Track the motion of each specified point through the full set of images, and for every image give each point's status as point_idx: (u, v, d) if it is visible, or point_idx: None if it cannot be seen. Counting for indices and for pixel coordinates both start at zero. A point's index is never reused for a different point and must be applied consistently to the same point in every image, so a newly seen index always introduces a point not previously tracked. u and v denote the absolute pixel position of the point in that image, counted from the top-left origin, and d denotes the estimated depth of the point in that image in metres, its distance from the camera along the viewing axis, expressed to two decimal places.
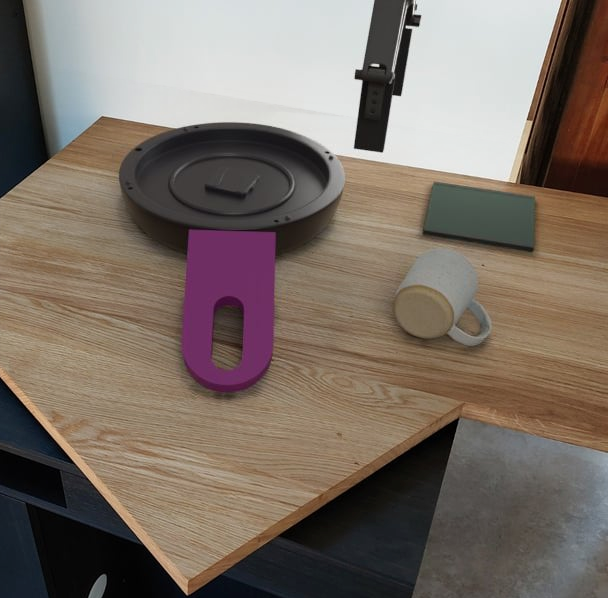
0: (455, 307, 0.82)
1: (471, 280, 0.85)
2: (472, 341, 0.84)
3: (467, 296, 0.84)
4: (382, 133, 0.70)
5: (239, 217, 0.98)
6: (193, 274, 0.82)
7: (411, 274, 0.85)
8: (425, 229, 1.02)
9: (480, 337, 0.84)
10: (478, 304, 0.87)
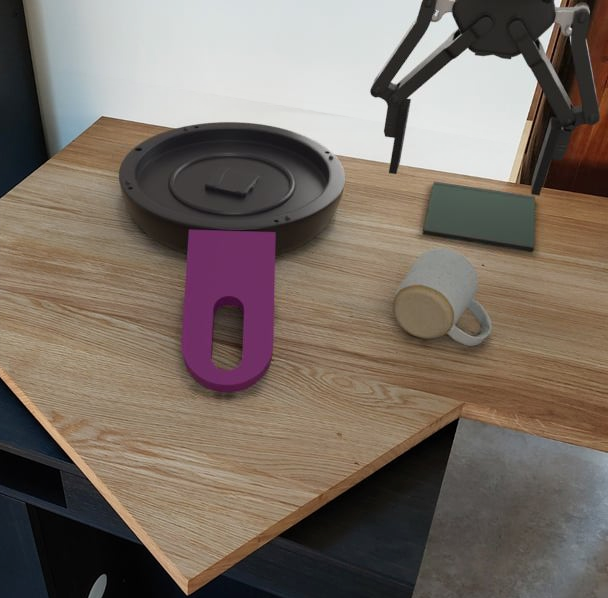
0: (455, 306, 0.82)
1: (471, 280, 0.85)
2: (472, 341, 0.84)
3: (467, 296, 0.84)
4: None
5: (239, 217, 0.98)
6: (192, 274, 0.82)
7: (411, 274, 0.85)
8: (425, 229, 1.02)
9: (480, 337, 0.84)
10: (478, 304, 0.87)
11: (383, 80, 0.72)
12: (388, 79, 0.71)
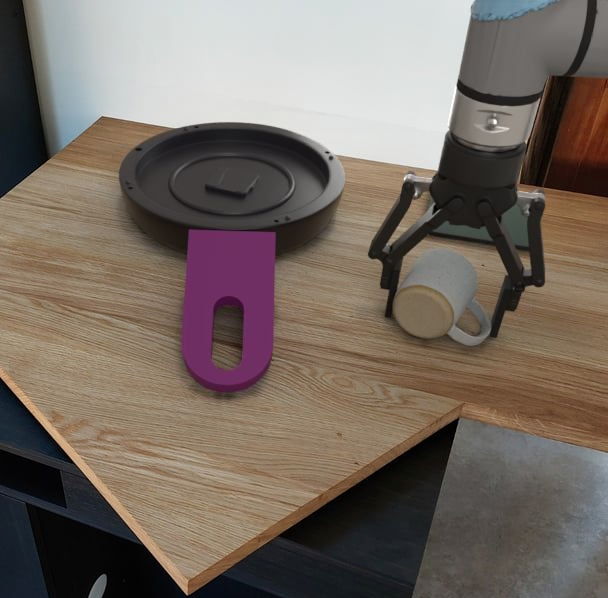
0: (455, 307, 0.82)
1: (471, 280, 0.85)
2: (472, 341, 0.84)
3: (467, 296, 0.84)
4: None
5: (239, 217, 0.98)
6: (192, 274, 0.82)
7: (411, 274, 0.85)
8: None
9: (480, 337, 0.84)
10: (478, 304, 0.87)
11: (378, 246, 0.83)
12: (382, 245, 0.82)
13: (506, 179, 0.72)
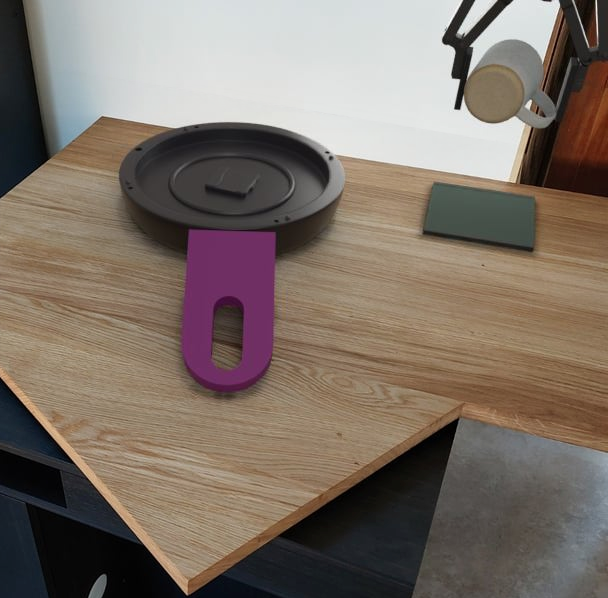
0: (525, 84, 0.88)
1: (538, 66, 0.90)
2: (540, 121, 0.90)
3: (535, 80, 0.90)
4: None
5: (239, 217, 0.98)
6: (192, 274, 0.82)
7: (482, 60, 0.90)
8: (425, 229, 1.02)
9: (547, 118, 0.90)
10: (543, 93, 0.92)
11: (452, 29, 0.88)
12: (456, 28, 0.88)
13: None
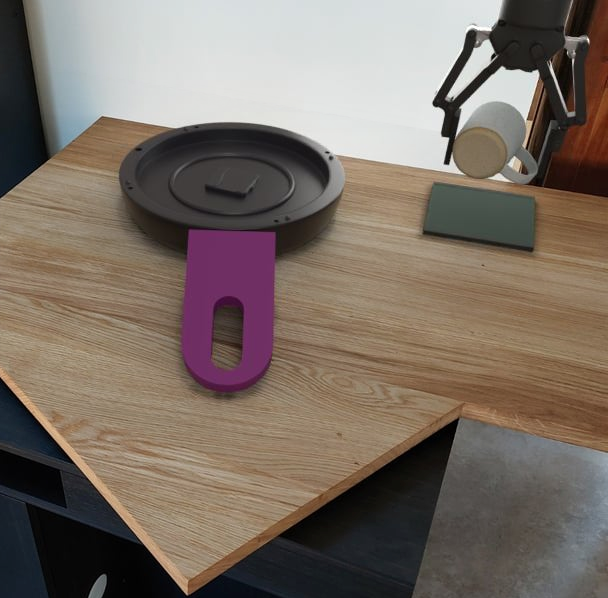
0: (508, 145, 0.95)
1: (520, 127, 0.98)
2: (522, 178, 0.97)
3: (517, 140, 0.97)
4: None
5: (239, 217, 0.98)
6: (192, 274, 0.82)
7: (469, 121, 0.98)
8: (425, 229, 1.02)
9: (529, 175, 0.97)
10: (526, 151, 1.00)
11: (441, 94, 0.96)
12: (445, 93, 0.96)
13: (558, 20, 0.86)
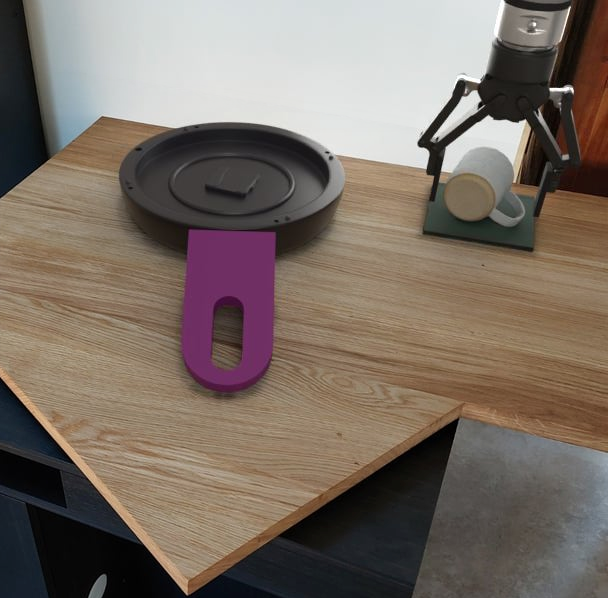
0: (496, 191, 0.99)
1: (508, 172, 1.02)
2: (509, 222, 1.02)
3: (505, 184, 1.02)
4: None
5: (239, 217, 0.98)
6: (192, 274, 0.82)
7: (459, 166, 1.02)
8: (425, 229, 1.02)
9: (516, 218, 1.02)
10: (513, 194, 1.04)
11: (427, 136, 1.00)
12: (430, 135, 1.00)
13: (542, 75, 0.90)
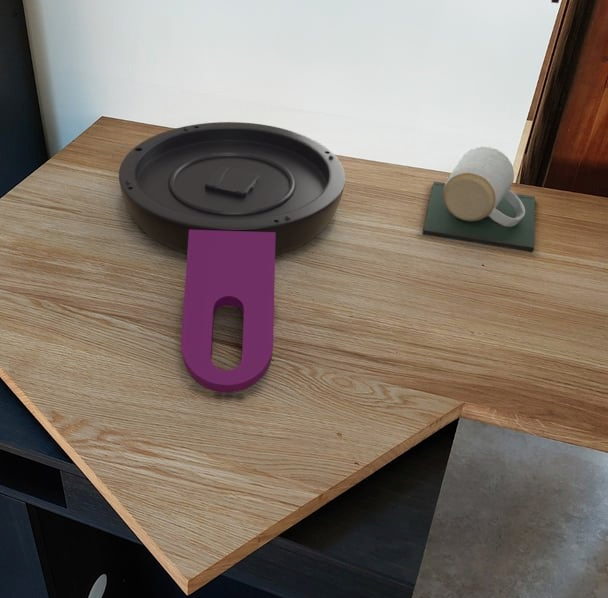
0: (496, 191, 0.99)
1: (508, 172, 1.02)
2: (509, 222, 1.02)
3: (505, 184, 1.02)
4: None
5: (239, 217, 0.98)
6: (192, 274, 0.82)
7: (459, 167, 1.02)
8: (425, 229, 1.02)
9: (516, 218, 1.02)
10: (513, 194, 1.04)
11: None
12: None
13: None
